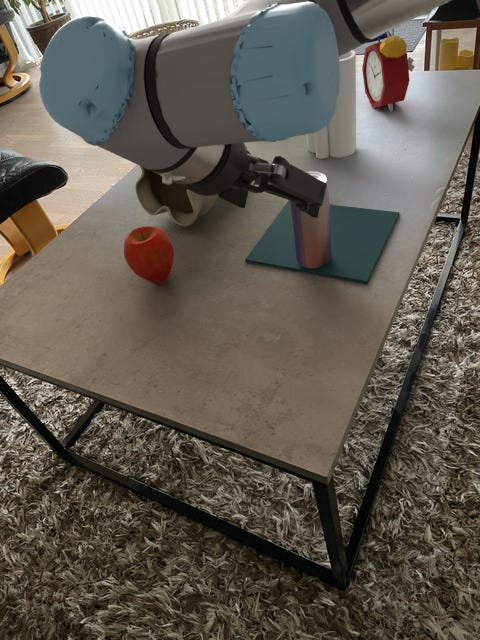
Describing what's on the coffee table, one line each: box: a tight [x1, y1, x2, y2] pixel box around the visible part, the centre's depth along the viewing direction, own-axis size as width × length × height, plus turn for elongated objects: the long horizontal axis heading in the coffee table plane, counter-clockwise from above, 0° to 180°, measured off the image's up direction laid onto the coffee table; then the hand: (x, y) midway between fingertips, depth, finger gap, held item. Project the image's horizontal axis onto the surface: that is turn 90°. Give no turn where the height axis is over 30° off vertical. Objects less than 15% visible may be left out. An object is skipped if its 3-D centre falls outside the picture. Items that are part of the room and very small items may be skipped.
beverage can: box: [290, 171, 332, 269], centre depth 78 cm, size 6×6×15 cm
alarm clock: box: [361, 28, 415, 113], centre depth 117 cm, size 15×9×20 cm, turn 10°
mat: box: [244, 200, 400, 285], centre depth 88 cm, size 22×20×1 cm
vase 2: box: [306, 49, 357, 160], centre depth 104 cm, size 11×7×20 cm, turn 71°
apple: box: [123, 226, 175, 285], centre depth 84 cm, size 9×8×11 cm
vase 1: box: [134, 143, 248, 227], centre depth 100 cm, size 22×22×28 cm
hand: (279, 202), depth 65 cm, fingers open, 10 cm apart
